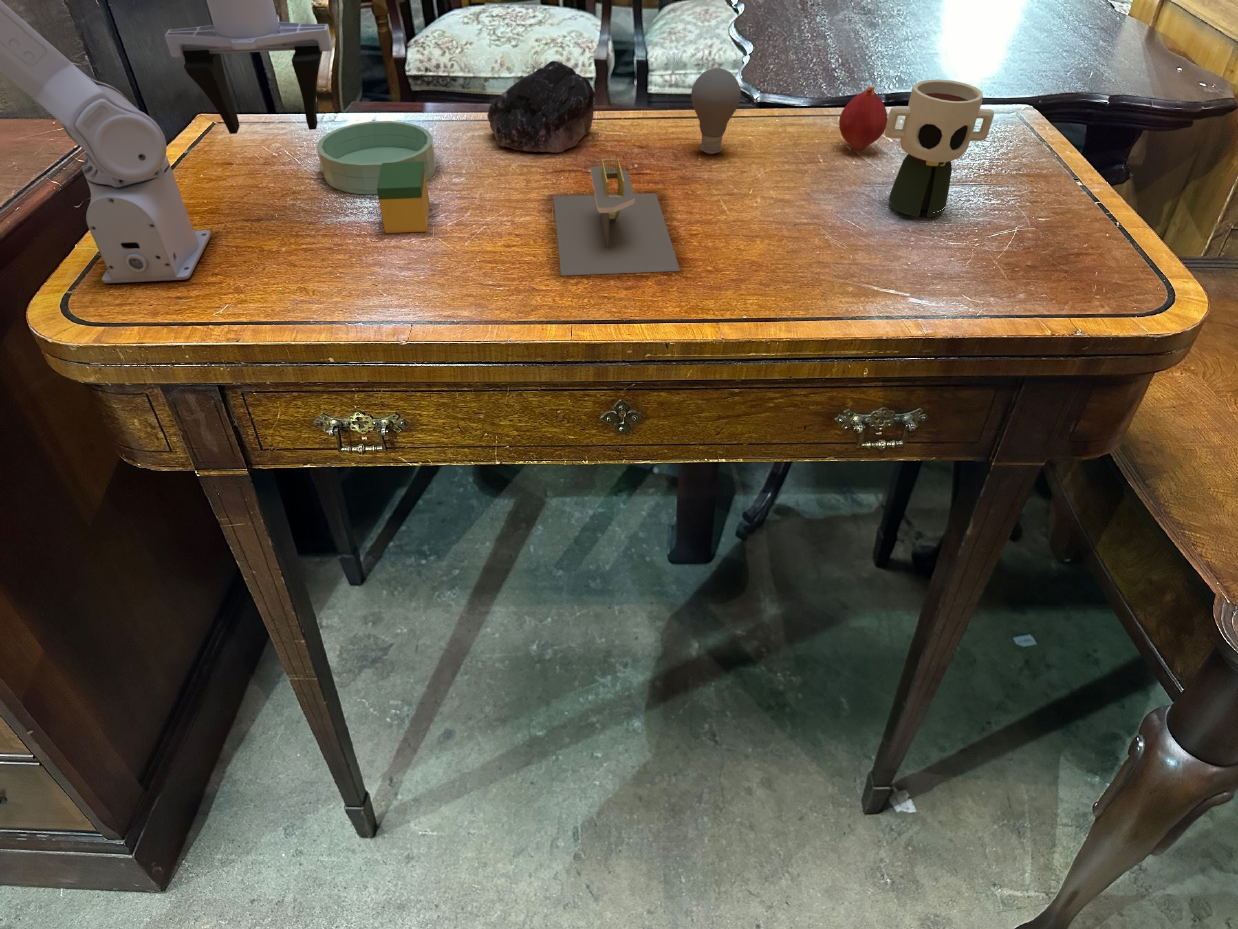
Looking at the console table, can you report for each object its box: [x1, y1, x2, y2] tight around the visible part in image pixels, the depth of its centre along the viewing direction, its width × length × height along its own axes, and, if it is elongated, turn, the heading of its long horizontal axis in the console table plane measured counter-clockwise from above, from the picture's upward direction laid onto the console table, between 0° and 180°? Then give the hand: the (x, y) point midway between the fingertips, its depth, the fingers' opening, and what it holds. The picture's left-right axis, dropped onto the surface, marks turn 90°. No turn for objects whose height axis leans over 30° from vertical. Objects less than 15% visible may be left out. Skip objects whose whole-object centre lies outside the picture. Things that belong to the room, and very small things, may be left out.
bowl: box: [316, 120, 437, 195], centre depth 97 cm, size 13×13×4 cm
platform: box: [552, 158, 681, 276], centre depth 86 cm, size 12×18×7 cm, turn 6°
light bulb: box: [690, 67, 742, 155], centre depth 101 cm, size 6×6×10 cm
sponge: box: [377, 161, 431, 234], centre depth 88 cm, size 6×4×5 cm
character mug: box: [884, 79, 995, 218], centre depth 89 cm, size 11×7×13 cm, turn 87°
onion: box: [838, 85, 888, 152], centre depth 103 cm, size 6×6×8 cm
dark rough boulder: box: [486, 60, 595, 153], centre depth 104 cm, size 13×14×10 cm
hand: (274, 128), depth 83 cm, fingers open, 7 cm apart
